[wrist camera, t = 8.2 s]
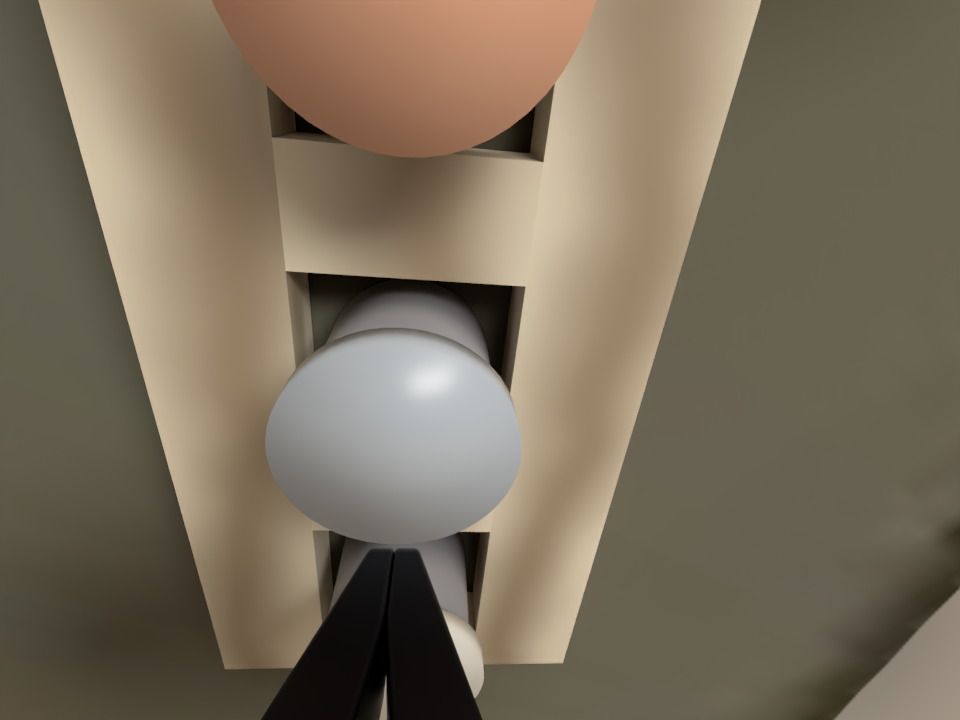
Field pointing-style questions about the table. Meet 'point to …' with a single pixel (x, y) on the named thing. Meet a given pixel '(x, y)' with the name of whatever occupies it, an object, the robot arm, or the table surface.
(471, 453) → the button grey
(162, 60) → the button board
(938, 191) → the table surface
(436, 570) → the button ivory
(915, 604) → the table surface
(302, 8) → the button terracotta
